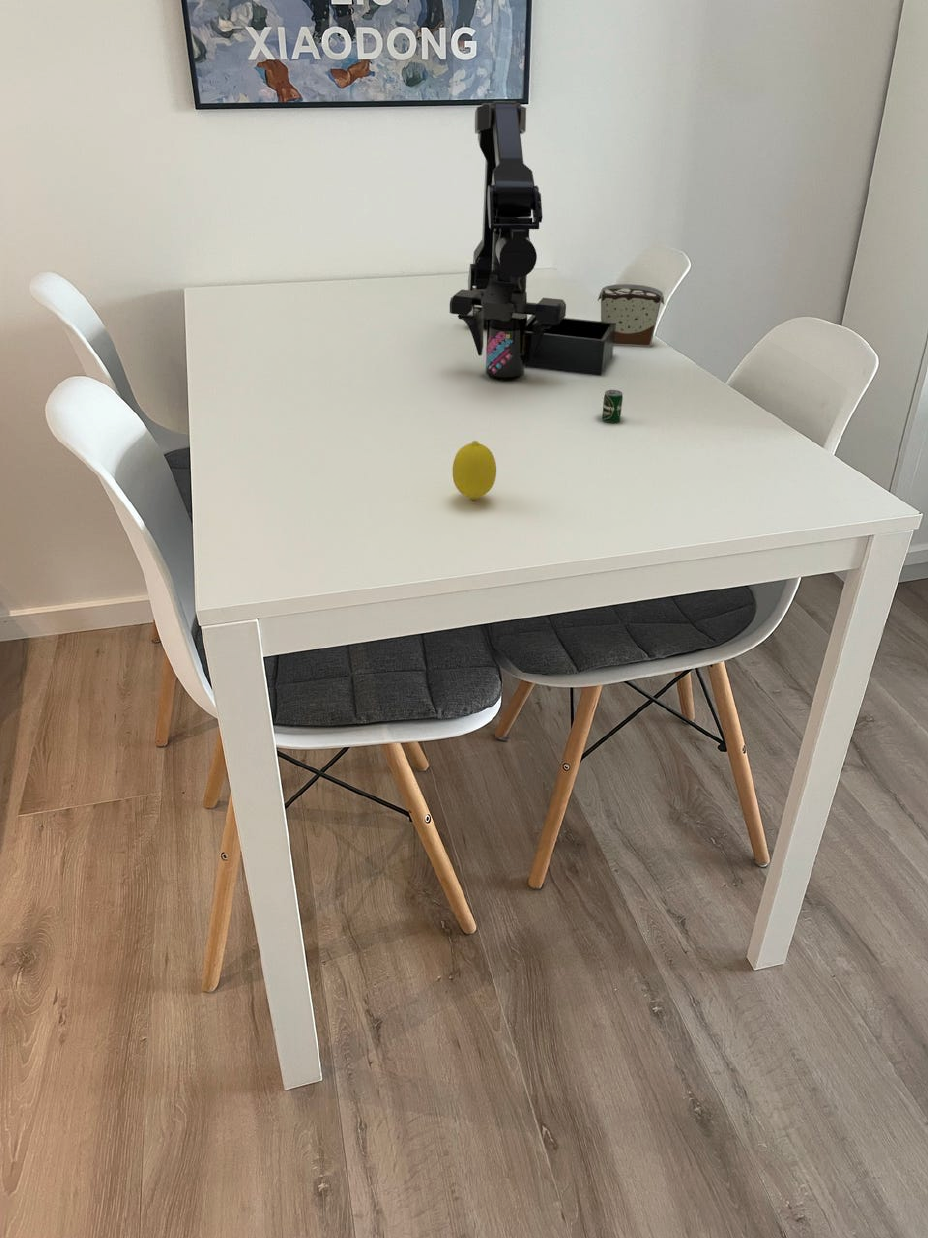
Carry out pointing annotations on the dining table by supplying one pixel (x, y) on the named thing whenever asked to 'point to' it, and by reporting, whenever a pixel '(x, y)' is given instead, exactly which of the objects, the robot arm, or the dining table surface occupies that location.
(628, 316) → the food container
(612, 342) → the basin
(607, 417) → the beer can
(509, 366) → the supplement container
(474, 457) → the lemon
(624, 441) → the dining table surface
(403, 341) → the dining table surface
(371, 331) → the dining table surface
